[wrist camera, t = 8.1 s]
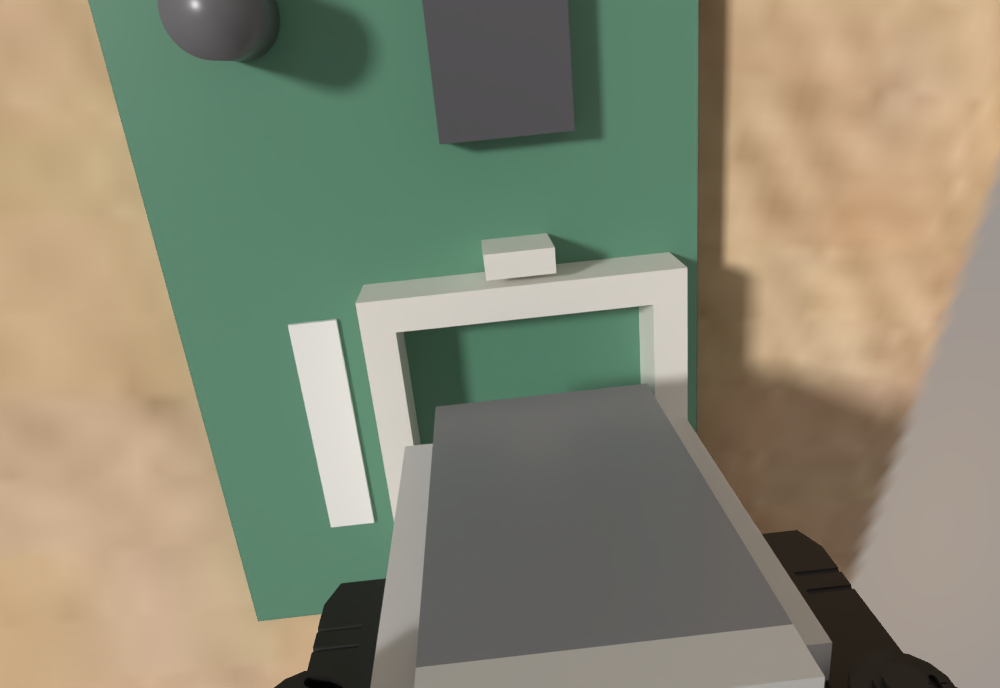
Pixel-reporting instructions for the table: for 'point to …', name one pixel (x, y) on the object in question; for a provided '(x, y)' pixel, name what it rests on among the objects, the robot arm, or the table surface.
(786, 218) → the table surface
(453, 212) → the board
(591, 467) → the block
